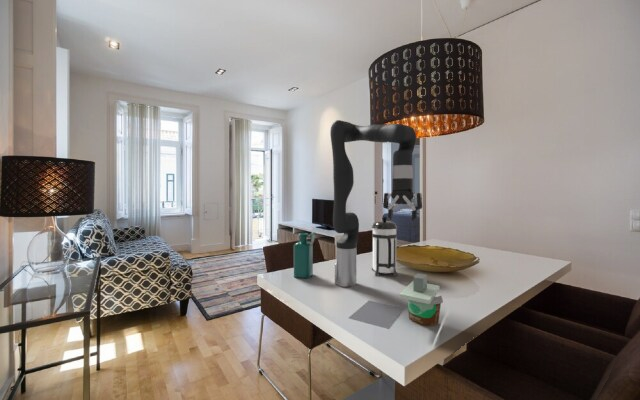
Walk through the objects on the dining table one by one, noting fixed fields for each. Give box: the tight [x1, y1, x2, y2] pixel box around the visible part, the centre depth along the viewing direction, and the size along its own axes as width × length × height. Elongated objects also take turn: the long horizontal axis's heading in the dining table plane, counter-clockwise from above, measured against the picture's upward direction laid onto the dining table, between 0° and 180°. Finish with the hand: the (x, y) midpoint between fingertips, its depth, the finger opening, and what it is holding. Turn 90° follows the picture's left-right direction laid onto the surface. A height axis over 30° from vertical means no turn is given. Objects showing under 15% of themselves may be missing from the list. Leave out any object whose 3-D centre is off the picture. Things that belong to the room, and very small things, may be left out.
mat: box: [348, 299, 406, 330], centre depth 98 cm, size 14×18×1 cm
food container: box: [407, 295, 444, 327], centre depth 91 cm, size 12×6×10 cm, turn 45°
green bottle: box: [293, 232, 316, 279], centre depth 143 cm, size 10×8×22 cm
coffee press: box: [371, 215, 398, 277], centre depth 145 cm, size 17×16×30 cm
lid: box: [398, 273, 441, 304], centre depth 91 cm, size 9×15×6 cm, turn 146°
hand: (402, 220), depth 107 cm, fingers open, 8 cm apart
